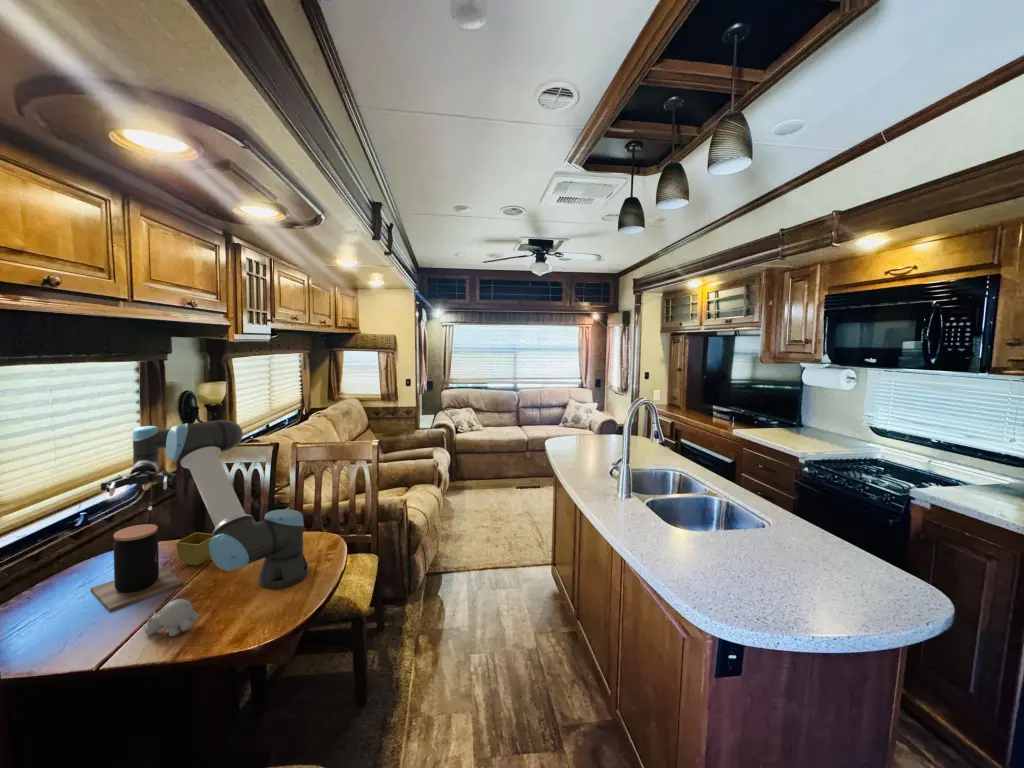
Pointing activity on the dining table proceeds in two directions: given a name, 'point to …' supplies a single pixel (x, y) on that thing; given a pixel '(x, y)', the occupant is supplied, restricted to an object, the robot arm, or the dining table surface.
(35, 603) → the dining table surface
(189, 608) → the chubby cartoon animal
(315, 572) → the dining table surface
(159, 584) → the walnut board
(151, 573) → the coffee jar
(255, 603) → the dining table surface
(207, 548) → the flower pot
